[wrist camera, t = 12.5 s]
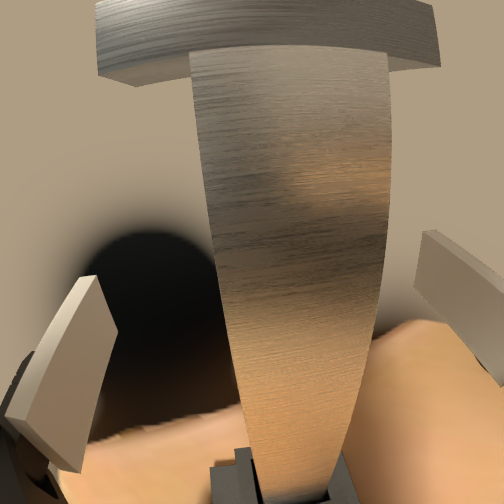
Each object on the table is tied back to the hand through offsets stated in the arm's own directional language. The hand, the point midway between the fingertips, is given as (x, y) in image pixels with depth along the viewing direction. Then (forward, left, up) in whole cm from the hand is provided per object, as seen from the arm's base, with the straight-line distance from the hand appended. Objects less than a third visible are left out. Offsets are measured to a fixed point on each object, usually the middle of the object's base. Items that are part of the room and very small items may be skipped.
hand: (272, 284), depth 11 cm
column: (0, +2, -19) cm, 19 cm away
